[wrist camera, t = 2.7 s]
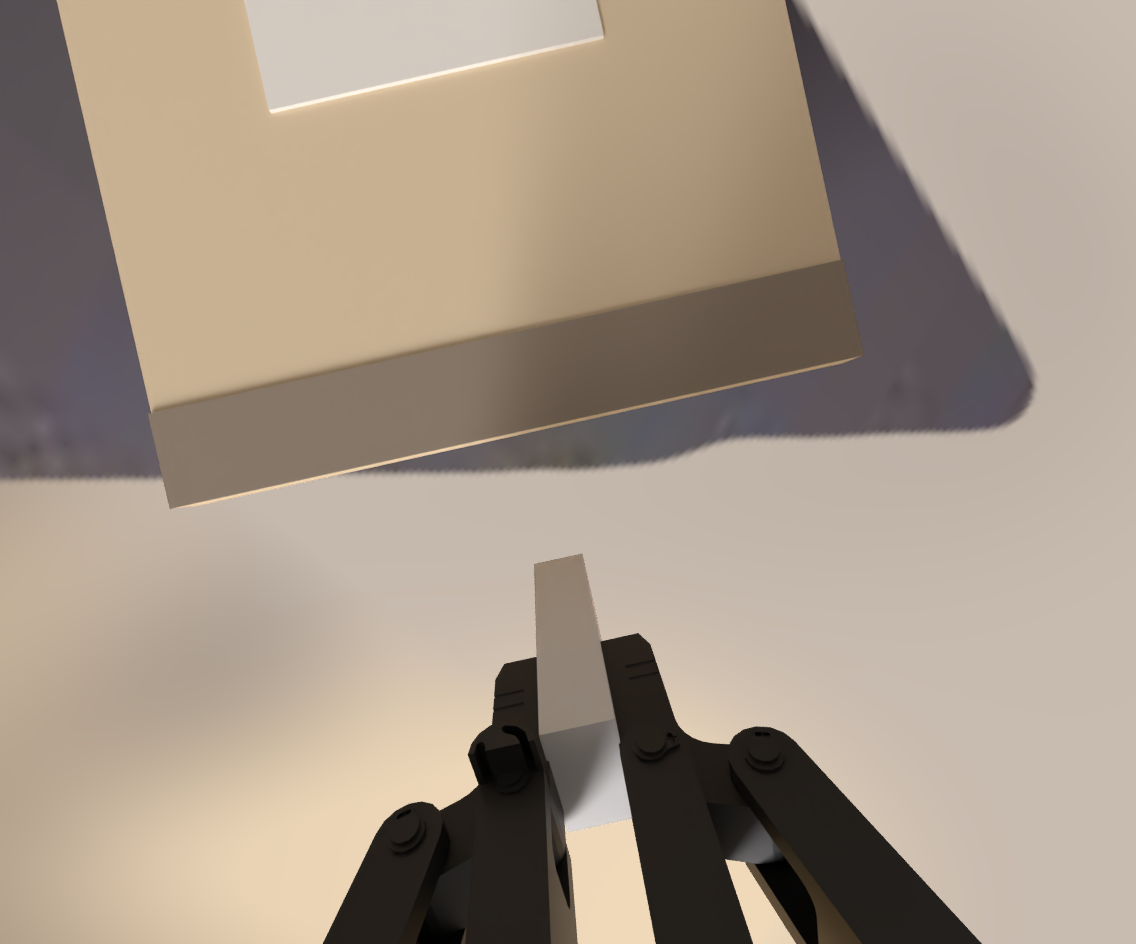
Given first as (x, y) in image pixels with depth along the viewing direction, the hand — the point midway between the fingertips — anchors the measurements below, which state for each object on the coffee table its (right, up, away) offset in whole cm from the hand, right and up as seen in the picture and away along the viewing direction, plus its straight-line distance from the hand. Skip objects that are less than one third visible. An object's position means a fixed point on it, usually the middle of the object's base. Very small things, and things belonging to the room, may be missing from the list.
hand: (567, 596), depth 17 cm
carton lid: (-3, +15, -5) cm, 16 cm away
